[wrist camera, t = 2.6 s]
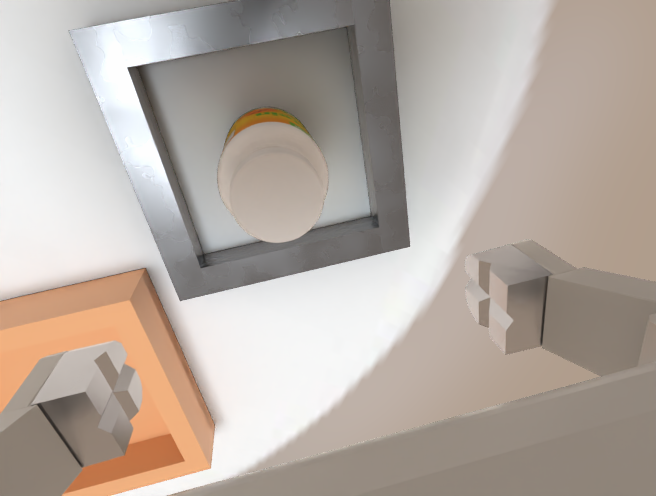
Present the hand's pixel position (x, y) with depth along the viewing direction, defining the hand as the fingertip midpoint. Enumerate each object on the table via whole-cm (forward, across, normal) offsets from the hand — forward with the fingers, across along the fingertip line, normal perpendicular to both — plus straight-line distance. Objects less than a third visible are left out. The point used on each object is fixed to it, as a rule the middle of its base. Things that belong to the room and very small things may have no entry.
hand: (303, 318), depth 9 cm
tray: (+18, +18, +14) cm, 29 cm away
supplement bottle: (+18, 0, 0) cm, 18 cm away
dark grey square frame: (+18, 0, 0) cm, 18 cm away
